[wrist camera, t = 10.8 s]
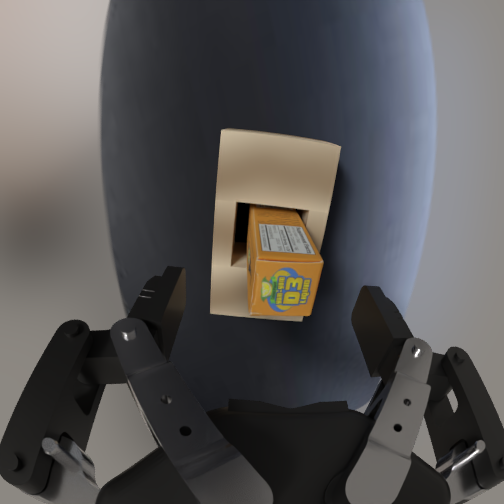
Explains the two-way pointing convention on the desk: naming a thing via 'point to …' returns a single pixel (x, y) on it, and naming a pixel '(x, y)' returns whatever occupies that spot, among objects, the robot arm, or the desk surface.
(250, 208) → the supplement box
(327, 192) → the socket block
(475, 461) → the robot arm
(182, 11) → the desk surface
